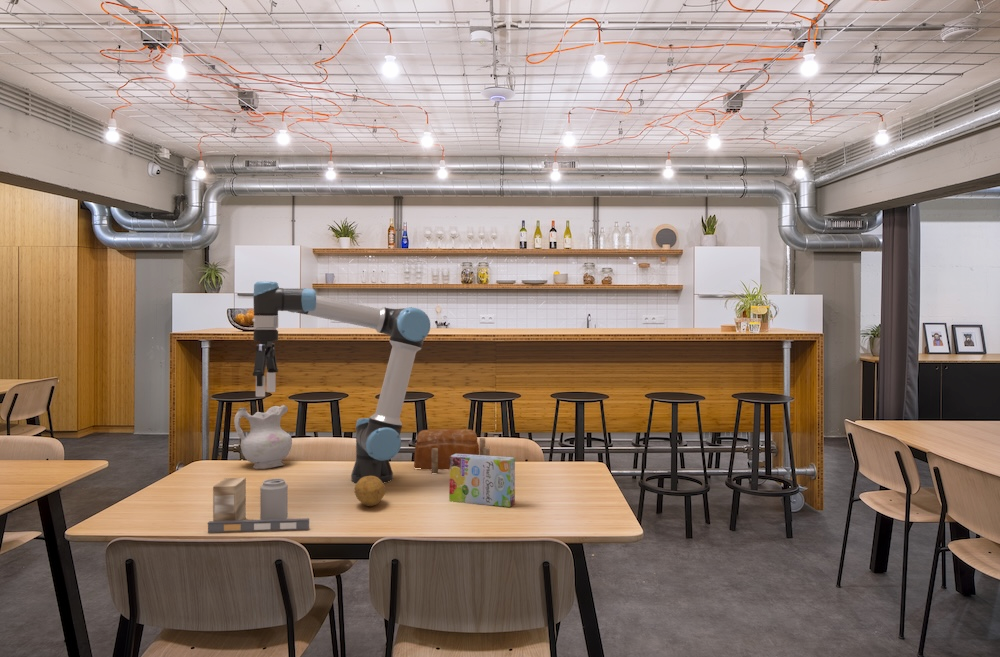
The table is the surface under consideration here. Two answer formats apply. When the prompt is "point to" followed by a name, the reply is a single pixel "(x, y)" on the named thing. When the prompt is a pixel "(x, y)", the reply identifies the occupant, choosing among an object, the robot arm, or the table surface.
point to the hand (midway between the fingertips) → (265, 394)
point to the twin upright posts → (483, 451)
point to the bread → (443, 446)
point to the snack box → (482, 479)
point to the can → (274, 499)
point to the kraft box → (229, 500)
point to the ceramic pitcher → (264, 437)
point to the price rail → (258, 525)
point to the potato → (369, 490)
